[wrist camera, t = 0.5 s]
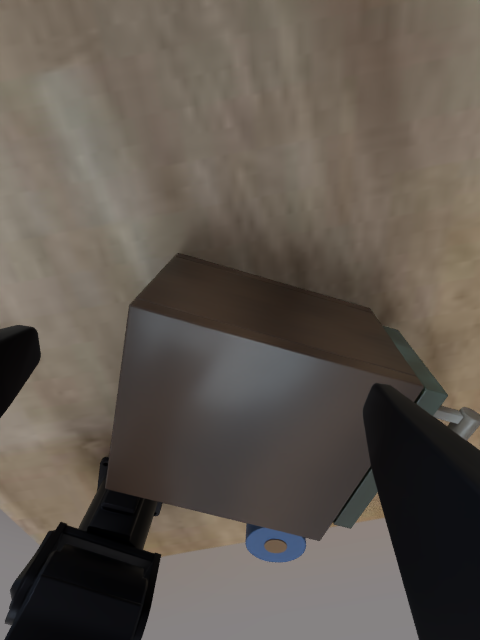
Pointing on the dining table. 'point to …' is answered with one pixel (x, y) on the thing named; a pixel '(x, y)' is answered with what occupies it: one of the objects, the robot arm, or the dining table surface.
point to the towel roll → (273, 544)
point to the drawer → (431, 402)
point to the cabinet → (247, 397)
